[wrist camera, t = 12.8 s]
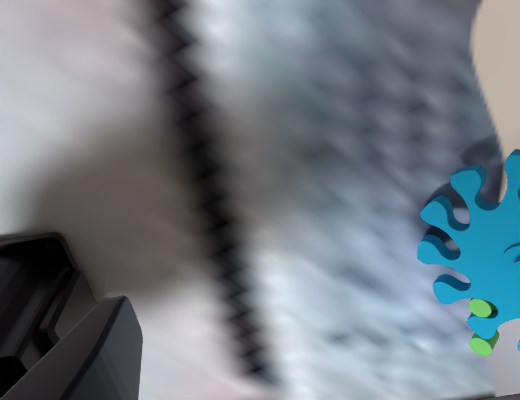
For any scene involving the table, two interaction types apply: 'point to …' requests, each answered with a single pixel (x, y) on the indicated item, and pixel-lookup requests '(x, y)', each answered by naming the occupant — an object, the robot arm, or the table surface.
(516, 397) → the mouse tray
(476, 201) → the blue virus toy
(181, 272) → the table surface
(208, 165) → the table surface
